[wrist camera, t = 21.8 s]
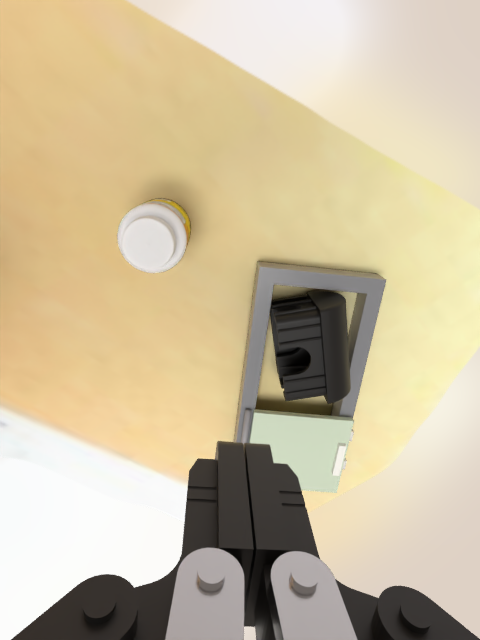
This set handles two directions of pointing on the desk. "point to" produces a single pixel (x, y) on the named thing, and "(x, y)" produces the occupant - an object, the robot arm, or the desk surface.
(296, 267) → the grey frame
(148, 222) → the supplement bottle
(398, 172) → the desk surface
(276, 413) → the lid
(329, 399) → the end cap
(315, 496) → the desk surface
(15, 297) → the desk surface
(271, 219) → the desk surface
